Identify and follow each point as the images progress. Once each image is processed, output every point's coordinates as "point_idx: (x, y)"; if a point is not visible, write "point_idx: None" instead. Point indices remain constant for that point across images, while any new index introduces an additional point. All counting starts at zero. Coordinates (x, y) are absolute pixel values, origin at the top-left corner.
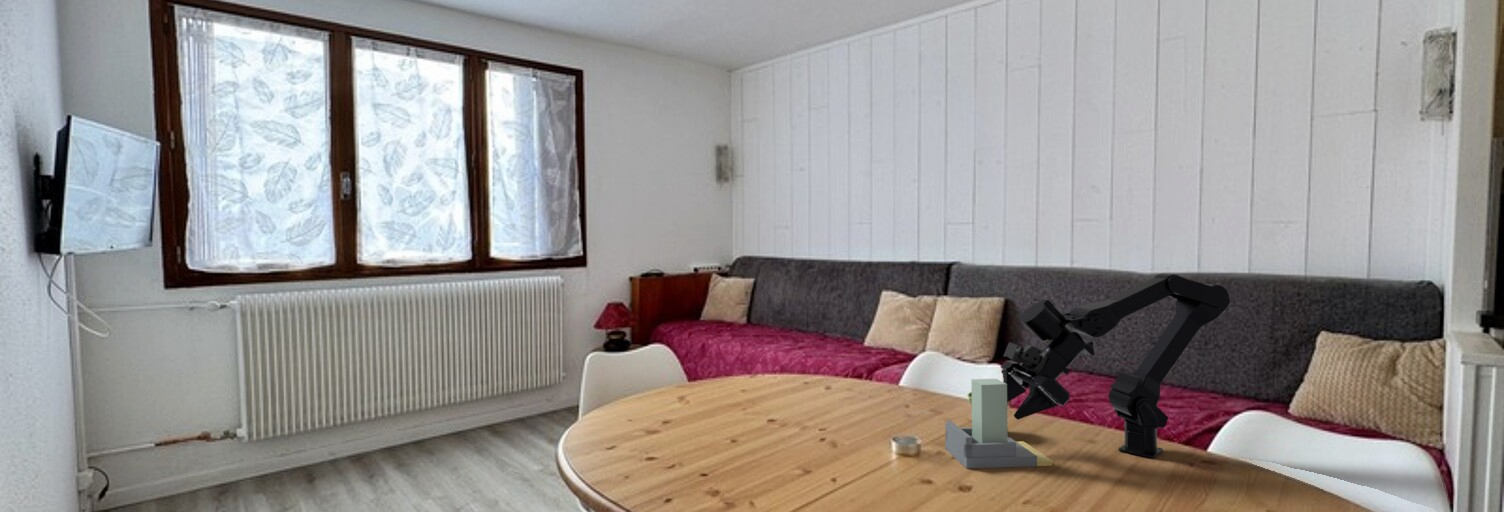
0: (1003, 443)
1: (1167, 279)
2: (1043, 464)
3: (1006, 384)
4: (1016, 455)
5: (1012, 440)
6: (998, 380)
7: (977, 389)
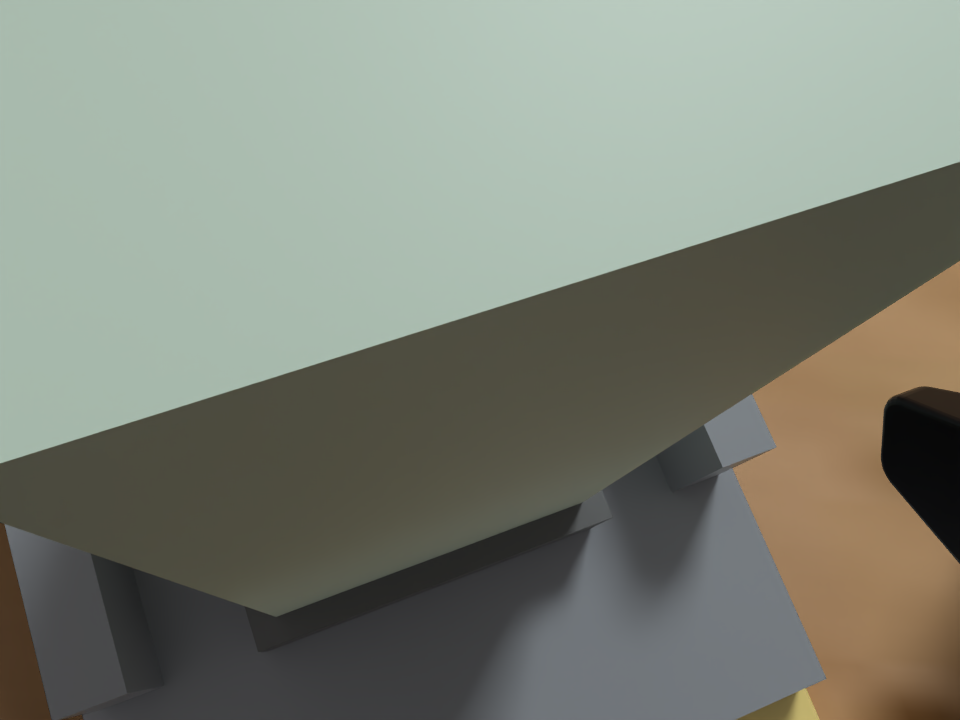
0: (28, 544)
1: None
2: None
3: None
4: (128, 714)
5: (711, 705)
6: (876, 124)
7: None
